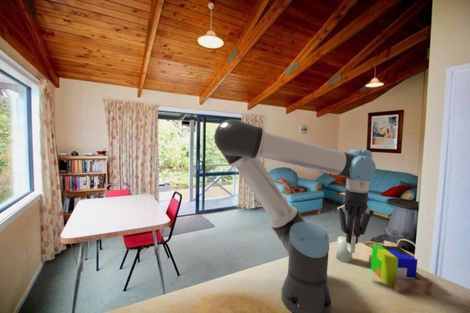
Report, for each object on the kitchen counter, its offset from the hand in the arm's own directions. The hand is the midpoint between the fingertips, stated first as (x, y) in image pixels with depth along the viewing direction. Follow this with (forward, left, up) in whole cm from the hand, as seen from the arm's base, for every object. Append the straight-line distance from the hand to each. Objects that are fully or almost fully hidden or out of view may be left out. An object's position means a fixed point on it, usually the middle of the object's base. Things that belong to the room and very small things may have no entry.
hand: (350, 251), depth 84 cm
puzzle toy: (+16, +1, -10) cm, 19 cm away
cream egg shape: (+3, +12, -10) cm, 16 cm away
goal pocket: (+17, 0, -10) cm, 20 cm away
